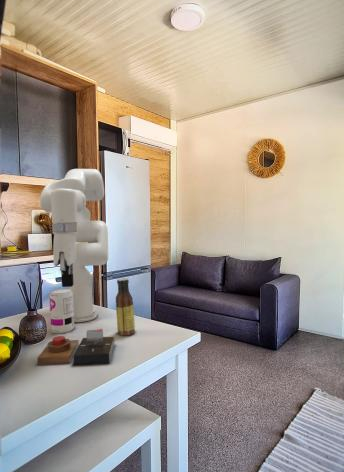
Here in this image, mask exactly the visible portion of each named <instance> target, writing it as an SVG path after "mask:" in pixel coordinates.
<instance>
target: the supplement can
mask: <svg viewBox="0 0 344 472" xmlns="http://www.w3.org/2000/svg"><path fill="white" fill-rule="evenodd" d="M48 297H49V317H50V319H49V321H50V332H52V333H54V334H65V333H69V332H71V331H72V330H73V329H74V328H75V322H74V311H73V293H72V292H71V290H70V289H68V288H58V289H54V290H51V291H50V293H49V296H48Z"/></svg>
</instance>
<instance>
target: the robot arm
mask: <svg viewBox="0 0 344 472" xmlns="http://www.w3.org/2000/svg"><path fill="white" fill-rule="evenodd" d="M104 196H105V186H104V179H103V176H102V173H101V171H99V170H98V169H96V168H73V169H70V170H68V171H67V172H66V174H65V176H64V177H63V178H61V179H59V180H55V181H52V182H49V183H47V184H46V185H45V186H44V187H43V189H42V191H41V193H40V196H39V204H40V207H41V209H42V210H43V211H44V212H46V213H51V227H52V228H51V231H52V235H53V246H52V247H53V250H52V251H53V256H52V257H53V266H54V267H58V266H59V271H60V274H61V275H60V276H61V287H62V288H67V289H70V290H71V292H72V293H73V311H74V323H86V322H90V321H92V320H95V319H96V318H98V317H97V316H98V314H97V311H94V305H93V303H94V302H93V278H92V274H91V272H90V271H89V270H88V268H87V267H89V266H91V267H93V266H103V265H106V264H107V263H108V260H109V233H108V231H109V230H108V225H107V224H106V222H105V221H103V220H91V212H90V209H89V208H88V207H87V202H99V201H103V199H104Z"/></svg>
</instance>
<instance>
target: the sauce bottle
mask: <svg viewBox="0 0 344 472" xmlns="http://www.w3.org/2000/svg"><path fill="white" fill-rule="evenodd" d="M129 282H130V281H129V278H126V277H123V278H118V279H116V283H117V294H116V295H115V310H116V311H115V312H116V314H115V315H116V326H117V327H116V328H117V333H118V335H119V336H130V335H133V334H135V332H136V331H135V328H136V325H135V311H134V300H133V296H132V295H131V292H130V289H129Z"/></svg>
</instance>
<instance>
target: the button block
mask: <svg viewBox="0 0 344 472" xmlns="http://www.w3.org/2000/svg"><path fill="white" fill-rule="evenodd" d="M79 345H80V341H79V339H76V340H75V339H71V340H70V339H69V338H65V344H62V345H53V339H52V340H51V341H48V343H47V344H46V346H45V347H44V349H43V350H42V351H41V353H40V354H39V355H38V356H37V358H36V360H37V366H45V365H63V364H64V365H65V364H70V363H71V362H72V360H73V359H74V357H73V356H74V354H75V352H76V350H77V348H78V346H79Z"/></svg>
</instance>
